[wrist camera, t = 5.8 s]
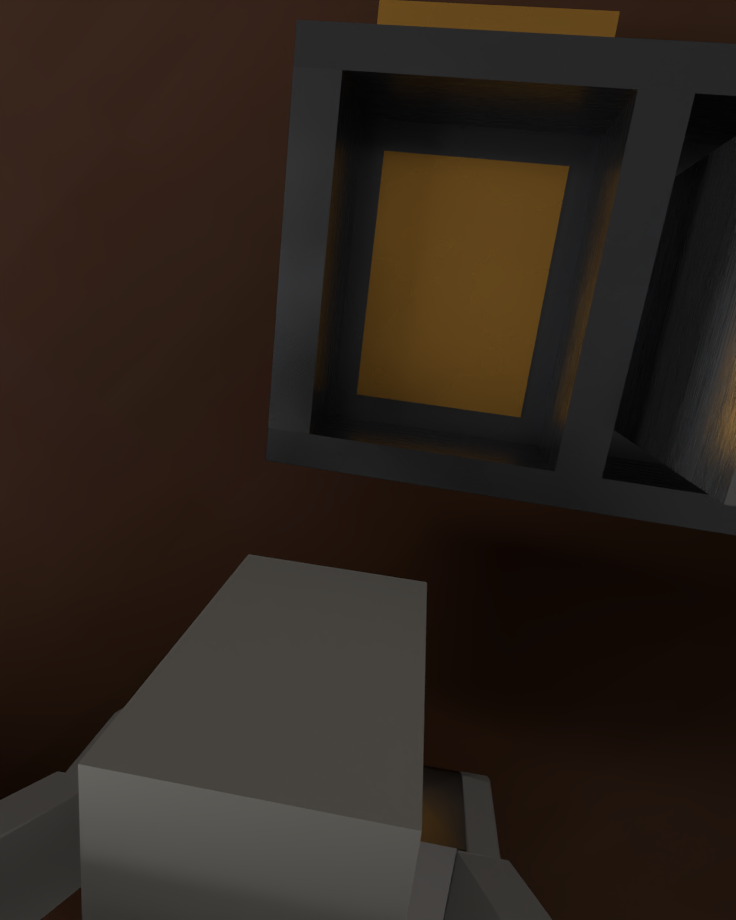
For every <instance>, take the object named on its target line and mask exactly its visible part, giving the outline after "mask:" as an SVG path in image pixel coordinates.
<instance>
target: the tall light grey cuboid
mask: <svg viewBox="0 0 736 920" xmlns="http://www.w3.org/2000/svg"><path fill="white" fill-rule="evenodd" d="M426 607H427V582H422V581H416V580H410V579H403V578H397V577H390V576H384V575H378V574H371V573H365V572H358V571H352V570H346V569H339V568H333V567H326V566H320V565H314V564H307V563H301V562H295V561H288V560H282V559H275V558H269V557H263V556H256V555H250V554H248V556H247V557H246V558H245V559H244V560H243V562H242V563H241V564H240V565H239V567H238V568H237V569H236V570H235V572H234V573H233V574H232V575H231V576H230V578H229V579H228V580H227V581H226V583H225V584H224V585H223V586H222V587H221V589H220V590H219V591H218V592H217V594H216V595H215V596H214V597H213V599H212V600H211V601H210V602H209V603H208V605H207V606H206V607H205V608H204V610H203V611H202V612H201V613H200V615H199V616H198V617H197V618H196V619H195V621H194V622H193V623H192V624H191V626H190V627H189V628H188V629H187V630H186V632H185V633H184V634H183V635H182V637H181V638H180V639H179V640H178V642H177V643H176V644H175V645H174V646H173V648H172V649H171V650H170V651H169V653H168V654H167V655H166V656H165V658H164V659H163V660H162V661H161V662H160V664H159V665H158V666H157V667H156V669H155V670H154V671H153V672H152V673H151V675H150V676H149V677H148V678H147V680H146V681H145V682H144V683H143V685H142V686H141V687H140V688H139V689H138V691H137V692H136V693H135V694H134V696H133V697H132V698H131V699H130V701H129V702H128V703H127V704H126V705H125V707H124V708H123V709H122V710H121V712H120V713H119V714H118V715H117V717H116V718H115V719H114V720H113V721H112V723H111V724H110V725H109V726H108V728H107V729H106V730H105V731H104V732H103V734H102V735H101V736H100V737H99V739H98V740H97V741H96V742H95V744H94V745H93V746H92V747H91V748H90V750H89V751H88V752H87V753H86V755H85V756H84V757H83V758H82V760H81V761H80V762H79V763H78V786H79V824H80V862H81V900H82V920H407V914H408V908H409V902H410V896H411V891H412V885H413V879H414V873H415V868H416V862H417V856H418V850H419V844H420V839H421V833H422V797H423V750H424V702H425V655H426Z"/></svg>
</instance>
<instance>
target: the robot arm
mask: <svg viewBox="0 0 736 920" xmlns="http://www.w3.org/2000/svg"><path fill="white" fill-rule="evenodd" d="M122 709H123V708H122ZM122 709H121V710H122ZM121 710H119V711H117V712H115V713H114V714H113V716H112V717H111V718H110V719H109V720H108V722H107V723H106V724H105V725H104V726H103V728H102V729H101V730H100V731H99V732H98V734H97V735H96V736H95V737H94V738H93V740H92V741H91V742H90V743H89V744H88V746H87V747H86V748H85V749H84V751H83V752H82V753H81V754H80V755H79V757H78V758H77V759H76V760H75V761H74V763H73V764H72V765H71V766H70V767H69V769H68V770H67V771H66V772H65V773H64V772H58V771H57V772H55V773H53V774H51V775H49V776H47V777H45V778H43V779H41V780H39V781H37V782H35V783H33V784H31V785H29V786H27V787H25V788H23V789H21V790H19V791H17V792H15V793H13V794H11V795H9V796H8V797H6V798H4V799H2V800H0V920H41V919H42V918H43V917H44V916H45V915H47V914H48V913H49V912H50V911H52V910H53V909H54V908H55V907H57V906H58V905H59V904H60V903H62V902H63V901H64V900H65V899H67V898H68V897H69V896H70V895H72V894H73V893H74V892H75V891H77V890H78V889H79V888H80V887H81V862H80V824H79V786H78V763H79V762H80V761H81V760H82V758H83V757H84V756H85V755H86V753H87V752H88V751H89V750H90V748H91V747H92V746H93V745H94V744H95V742H96V741H97V740H98V739H99V737H100V736H101V735H102V734H103V732H104V731H105V730H106V729H107V728H108V726H109V725H110V724H111V723H112V721H113V720H114V719H115V718H116V717H117V715H118V714H119V713H120V712H121ZM407 920H552V919H551V917H550V916H549V915H548V913H547V912H546V910H545V909H544V908H543V906H542V905H541V904H540V902H539V901H538V900H537V898H536V897H535V895H534V894H533V893H532V891H531V890H530V889H529V887H528V886H527V885H526V883H525V882H524V880H523V879H522V878H521V876H520V875H519V874H518V872H517V871H516V869H515V868H514V867H513V865H512V864H511V863H510V861H508V860H503V859H500V851H499V844H498V836H497V829H496V821H495V814H494V806H493V799H492V791H491V784H490V780H489V778H488V776H485V775H479V774H473V773H467V772H459V771H454V770H448V769H443V768H437V767H431V766H425V765H423V797H422V833H421V839H420V844H419V850H418V856H417V862H416V868H415V873H414V879H413V885H412V891H411V896H410V902H409V908H408V914H407Z"/></svg>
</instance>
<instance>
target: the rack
mask: <svg viewBox="0 0 736 920" xmlns="http://www.w3.org/2000/svg"><path fill="white" fill-rule="evenodd" d="M619 13H620V11H602V10H581V9H561V8H541V7H521V6H500V5H480V4H460V3H439V2H419V1H399V0H380V1H379V11H378V21H377V24H365V23H347V22H328V21H310V20H297V24H296V38H295V52H294V67H293V81H292V95H291V110H290V124H289V138H288V152H287V167H286V181H285V195H284V209H283V224H282V238H281V252H280V267H279V281H278V295H277V309H276V324H275V338H274V352H273V366H272V381H271V395H270V409H269V424H268V438H267V452H266V460H267V461H273V462H280V463H286V464H292V465H298V466H305V467H311V468H317V469H323V470H330V471H336V472H342V473H348V474H355V475H361V476H367V477H373V478H380V479H386V480H392V481H398V482H405V483H411V484H417V485H424V486H430V487H436V488H442V489H449V490H455V491H461V492H467V493H474V494H480V495H486V496H492V497H499V498H505V499H511V500H517V501H524V502H530V503H536V504H542V505H549V506H555V507H561V508H567V509H574V510H580V511H586V512H593V513H599V514H605V515H611V516H618V517H624V518H630V519H636V520H643V521H649V522H655V523H661V524H668V525H674V526H680V527H686V528H693V529H699V530H705V531H711V532H718V533H724V534H730V535H736V44H729V43H710V42H692V41H674V40H656V39H638V38H620V37H615V33H616V28H617V23H618V18H619Z"/></svg>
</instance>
